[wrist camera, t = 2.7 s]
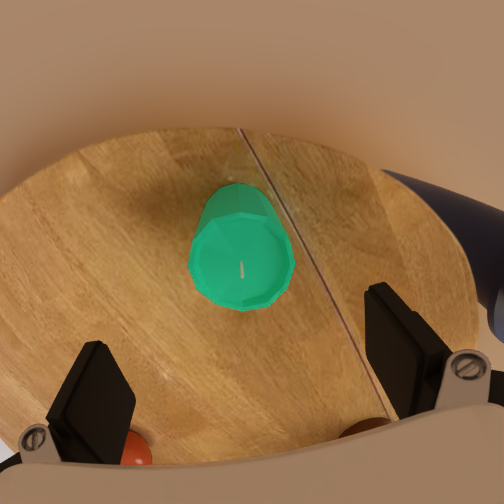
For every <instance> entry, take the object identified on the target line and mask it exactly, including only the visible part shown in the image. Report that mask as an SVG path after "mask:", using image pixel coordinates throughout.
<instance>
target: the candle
mask: <svg viewBox="0 0 504 504" xmlns="http://www.w3.org/2000/svg"><path fill="white" fill-rule="evenodd" d="M295 264H296V263H295V259H294V255H293V251H292V247H291V244H290V240H289V237H288V235H287V233H286V231H285V229H284V227H283V225H282V223H281V222H280V220H279V218H278V216H277V214H276V212H275V210H274V208H273V206H272V205H271V203H270V201H269V199H268V198H267V197H266V196H265V195H264V194H263V193H262V192H260V191H259V190H258V189H257V188H256V187H254V186H250V185H246V184H241V183H235V184H231V185H228V186H224V187H221V188H219V189H218V190H217V191H216V192H215V193H214V194H213V196H212V197H211V198H210V199H209V200H208V201H207V203H206V206H205V208H204V211H203V214H202V216H201V219H200V222H199V225H198V227H197V230H196V233H195V236H194V238H193V241H192V246H191V251H190V256H189V262H188V269H189V271H190V274H191V276H192V279H193V281H194V284H195V286H196V289H197V290H198V291H199V292H200V293H202V294H203V295H204V296H206V297H207V298H208V299H210V300H211V301H213V302H214V303H215V304H217V305H220V306H223V307H227V308H231V309H235V310H239V311H247V310H253V309H259V308H264V307H269V306H270V305H271V304H272V303H273V302H274V301H275V300H276V299H277V298H278V297H279V296H280V295H281V294H282V293H283V292H284V291H285V290H286V289H287V288H288V285H289V282H290V279H291V276H292V273H293V270H294V267H295Z"/></svg>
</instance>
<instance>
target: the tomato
mask: <svg viewBox="0 0 504 504" xmlns="http://www.w3.org/2000/svg"><path fill="white" fill-rule="evenodd" d="M120 465H152V455H151V451H150V449H149V447H148V444H147V442H146V441H145V440H144V439H143V438H142V437H141V436H140V435H139V434H137V433H135V432H133V431H128V435H127V438H126V442H125V447H124V451H123V455H122V459H121V463H120Z"/></svg>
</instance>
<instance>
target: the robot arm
mask: <svg viewBox="0 0 504 504" xmlns="http://www.w3.org/2000/svg"><path fill="white" fill-rule="evenodd" d="M364 301H365V350H366V356H367V359H368V361H369V363H370V365H371V367H372V369H373V370H374V372H375V374H376V376H377V378H378V380H379V381H380V383H381V385H382V387H383V389H384V391H385V393H386V394H387V396H388V398H389V400H390V402H391V404H392V406H393V408H394V410H395V412H396V413H397V415H398V417H399V419H400V420H398V421H395V422H393V423H390V424H387V425H384V426H380V427H377V428H374V429H371V430H368V431H364V432H361V433H357V434H354V435H350V436H347V437H343V438H339V439H336V440H332V441H328V442H324V443H320V444H316V445H311V446H307V447H303V448H298V449H293V450H288V451H283V452H278V453H272V454H266V455H260V456H254V457H247V458H240V459H232V460H224V461H214V462H204V463H191V464H173V465H120V463H121V459H122V455H123V451H124V447H125V442H126V438H127V435H128V431H129V427H130V423H131V419H132V415H133V412H134V408H135V404H136V398H135V395H134V393H133V391H132V389H131V388H130V386H129V384H128V383H127V381H126V379H125V377H124V376H123V374H122V372H121V370H120V368H119V367H118V365H117V363H116V361H115V359H114V357H113V356H112V354H111V352H110V350H109V348H108V346H107V345H106V344H103V342H101V341H99V340H98V341H91V342H86V343H85V344H84V346H83V348H82V350H81V351H80V353H79V355H78V357H77V359H76V360H75V362H74V364H73V366H72V368H71V369H70V371H69V373H68V375H67V377H66V379H65V381H64V383H63V384H62V386H61V388H60V390H59V392H58V394H57V396H56V398H55V400H54V402H53V404H52V406H51V408H50V410H49V412H48V414H47V416H46V420H47V421H48V422H49V425H48V427H47V426H46V425H44V424H34V425H32V426H30V427H28V428H27V429H26V430H25V431H24V432H23V433H22V434H21V436H20V438H19V441H18V447H19V451H20V452H18V453H16V454H15V455H13V456H12V457H10V458H8V459H7V460H5V461H4V462H2V463H0V504H504V372H502V371H496V370H491V363H490V361H489V360H488V358H487V357H486V356H485V355H484V354H483V353H481V352H479V351H476V350H472V349H464V350H459V351H457V352H455V353H453V352H452V351H451V350H450V349H449V348H448V346H447V345H446V344H445V343H444V342H443V341H442V340H441V338H440V337H439V336H438V335H437V334H436V333H435V332H434V330H433V329H432V328H431V327H430V326H429V325H428V324H427V323H426V321H425V320H424V319H423V318H422V317H421V316H420V315H419V314H418V313H417V312H416V311H412V310H411V309H410V308H409V307H408V306H407V305H406V304H405V302H404V301H403V300H402V299H401V298H400V297H399V296H398V295H397V294H396V293H395V292H394V290H393V289H392V288H391V287H390V286H389V285H388V284H387V283H386V282H381V283H378V284H374V285H370V286H369V289H368V291H365V293H364Z"/></svg>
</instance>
